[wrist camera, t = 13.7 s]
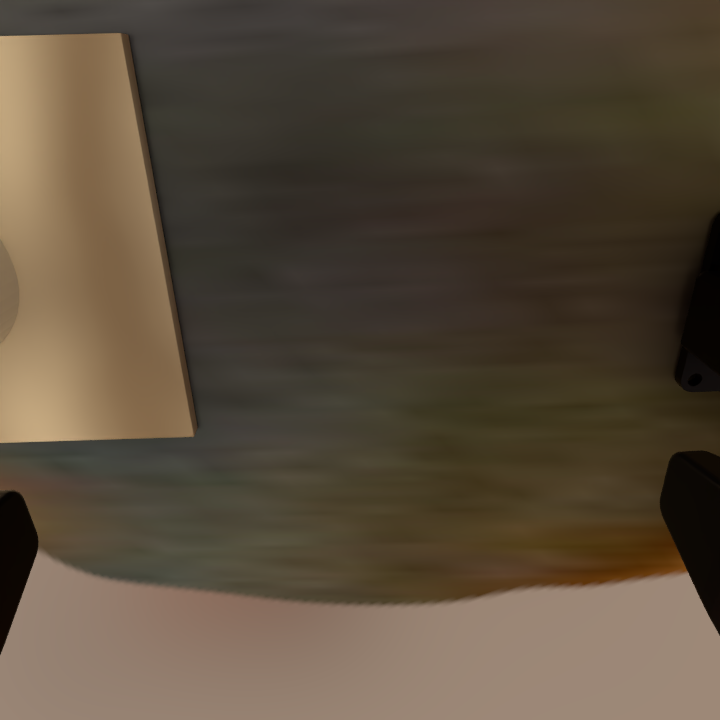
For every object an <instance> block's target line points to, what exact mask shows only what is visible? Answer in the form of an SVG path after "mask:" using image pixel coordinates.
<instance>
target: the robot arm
mask: <svg viewBox="0 0 720 720" xmlns="http://www.w3.org/2000/svg"><path fill="white" fill-rule="evenodd" d="M681 344H682V345H683V346H682V350H681V354H680V358H679V362H678V366H677V371H676V375H675V380H676V382H677V384H678V385H679V386H681V387H682V388H683V389H684V390H686V391H689V392H707V391H720V214H719V215H718V216H717V217H716V218H715V220H714V223H713V225H712V229H711V233H710V237H709V241H708V246H707V250H706V254H705V258H704V262H703V266H702V270H701V274H700V275H699V276H698V278H697V279H696V283H695V287H694V291H693V295H692V300H691V304H690V308H689V312H688V316H687V320H686V324H685V328H684V332H683V336H682V340H681ZM693 374H696V375H695V377H694V378H693V379H692V380H689V381H688V379H689V377H690V376H691V375H693ZM660 509H661V513H662V516H663V519H664V521H665V523H666V525H667V527H668V529H669V532H670V534H671V536H672V538H673V540H674V542H675V545H676V547H677V549H678V551H679V553H680V556H681V558H682V560H683V562H684V564H685V566H686V569H687V571H688V573H689V575H690V577H691V579H692V582H693V584H694V585H695V588H696V590H697V593H698V595H699V597H700V599H701V601H702V603H703V605H704V607H705V609H706V611H707V613H708V615H709V617H710V619H711V621H712V622H713V624H714V626H715V628H716V629H717V631H718V633H719V635H720V457H719V456H717V455H714V454H712V453H710V452H707V451H685V452H677V453H675V454H674V455H672V457H671V458H670V461H669V464H668V468H667V472H666V476H665V480H664V484H663V488H662V492H661V496H660ZM37 550H38V535H37V532H36V529H35V527H34V524H33V521H32V519H31V516H30V514H29V511H28V508H27V506H26V503H25V500H24V498H23V496H22V495H21V494H20V493H19V492H18V491H15V490H0V654H1V652H2V649H3V647H4V644H5V641H6V639H7V636H8V633H9V630H10V627H11V625H12V622H13V619H14V616H15V613H16V611H17V608H18V605H19V602H20V599H21V597H22V593H23V591H24V588H25V585H26V583H27V579H28V577H29V574H30V571H31V568H32V566H33V563H34V560H35V557H36V554H37Z"/></svg>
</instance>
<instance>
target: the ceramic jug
mask: <svg viewBox="0 0 720 720" xmlns="http://www.w3.org/2000/svg"><path fill="white" fill-rule="evenodd" d="M18 307H19V286H18V280H17V275H16V272H15V269H14V265H13V263H12V261H11V258H10V256H9V254H8V252H7V250H6V248H5V246H4V245H3V243H2V241H1V239H0V343H2V342H3V341H4V339H5V338H6V337H7V335H8V334H9V333H10V331H11V329H12V327H13V325H14V323H15V320H16V317H17V313H18Z"/></svg>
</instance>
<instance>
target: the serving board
mask: <svg viewBox="0 0 720 720" xmlns="http://www.w3.org/2000/svg"><path fill="white" fill-rule="evenodd" d="M0 239H1V241H2V243H3V245H4V246H5V248H6V250H7V252H8V254H9V256H10V258H11V261H12V263H13V265H14V269H15V272H16V275H17V280H18V286H19V307H18V313H17V317H16V320H15V323H14V325H13V327H12V329H11V331H10V333H9V334H8V335H7V337H6V338H5V339H4V341H3V342H2V343H0V443H9V442H41V441H73V440H104V439H136V438H168V437H194V435H195V433H196V431H197V428H198V427H197V421H196V415H195V410H194V404H193V398H192V393H191V387H190V381H189V376H188V370H187V364H186V359H185V353H184V347H183V342H182V336H181V330H180V325H179V319H178V313H177V308H176V302H175V296H174V291H173V285H172V279H171V274H170V268H169V262H168V257H167V251H166V245H165V240H164V234H163V229H162V223H161V217H160V212H159V206H158V200H157V195H156V189H155V183H154V178H153V172H152V166H151V161H150V155H149V149H148V144H147V138H146V132H145V127H144V121H143V115H142V110H141V104H140V98H139V93H138V87H137V81H136V76H135V70H134V64H133V59H132V53H131V47H130V42H129V36H128V35H127V34H122V33H107V34H69V35H30V36H0Z"/></svg>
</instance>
